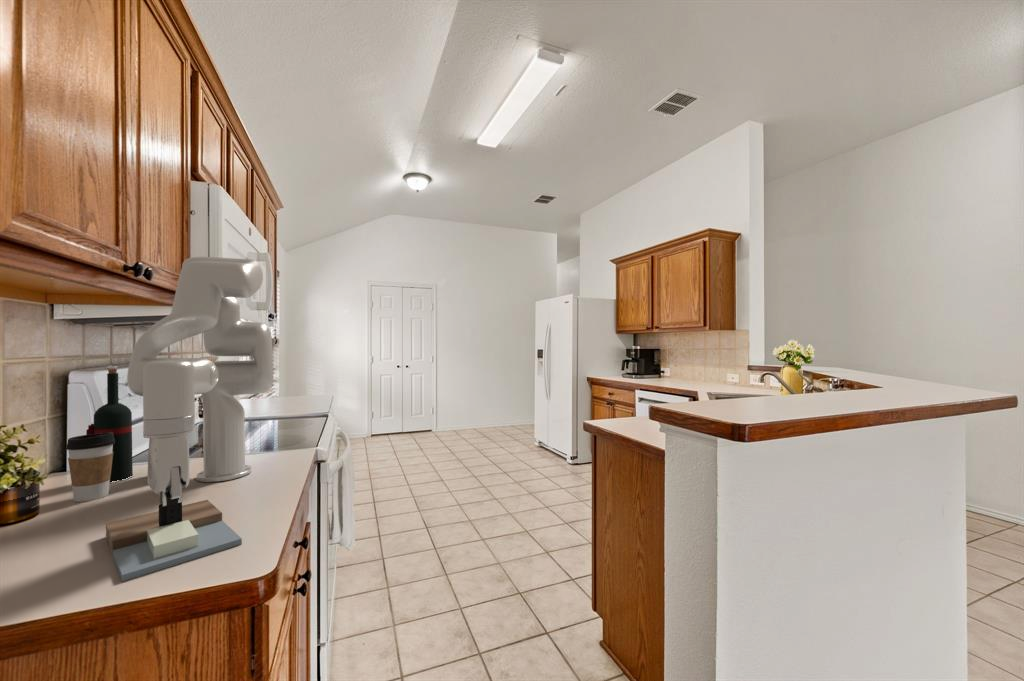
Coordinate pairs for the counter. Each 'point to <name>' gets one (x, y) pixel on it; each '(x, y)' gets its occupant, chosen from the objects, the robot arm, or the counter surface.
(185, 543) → the sage tile
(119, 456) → the wine bottle
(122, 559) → the slate mat
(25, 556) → the counter surface
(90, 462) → the coffee cup
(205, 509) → the walnut deck
